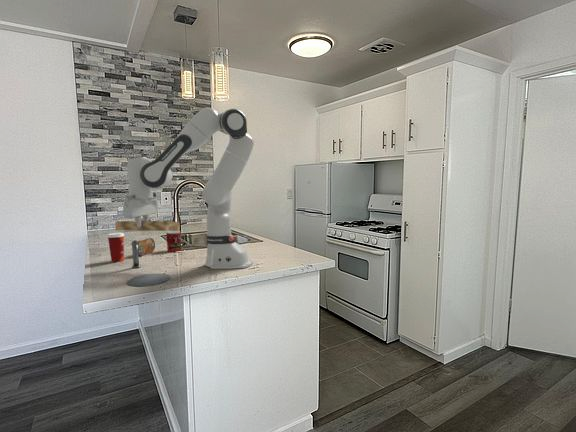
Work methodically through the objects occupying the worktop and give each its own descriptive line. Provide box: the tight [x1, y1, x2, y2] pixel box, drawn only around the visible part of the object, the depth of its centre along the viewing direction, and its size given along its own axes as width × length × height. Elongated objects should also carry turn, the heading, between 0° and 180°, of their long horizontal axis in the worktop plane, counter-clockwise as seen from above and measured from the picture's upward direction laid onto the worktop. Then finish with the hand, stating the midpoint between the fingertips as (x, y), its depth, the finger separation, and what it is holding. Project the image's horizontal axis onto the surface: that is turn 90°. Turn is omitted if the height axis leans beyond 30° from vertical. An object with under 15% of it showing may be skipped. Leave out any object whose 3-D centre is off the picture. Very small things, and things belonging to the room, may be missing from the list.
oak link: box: [115, 220, 181, 232], centre depth 147 cm, size 24×12×4 cm, turn 81°
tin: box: [136, 237, 156, 257], centre depth 178 cm, size 15×3×8 cm, turn 168°
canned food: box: [166, 230, 182, 253], centre depth 186 cm, size 8×8×11 cm
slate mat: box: [126, 272, 171, 287], centre depth 130 cm, size 16×16×1 cm
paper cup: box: [107, 232, 125, 263], centre depth 163 cm, size 8×8×14 cm
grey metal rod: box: [130, 240, 142, 269], centre depth 150 cm, size 4×4×13 cm
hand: (142, 226), depth 142 cm, fingers closed on oak link, 2 cm apart
